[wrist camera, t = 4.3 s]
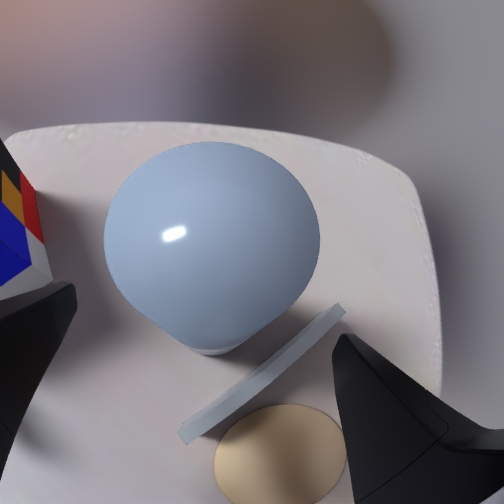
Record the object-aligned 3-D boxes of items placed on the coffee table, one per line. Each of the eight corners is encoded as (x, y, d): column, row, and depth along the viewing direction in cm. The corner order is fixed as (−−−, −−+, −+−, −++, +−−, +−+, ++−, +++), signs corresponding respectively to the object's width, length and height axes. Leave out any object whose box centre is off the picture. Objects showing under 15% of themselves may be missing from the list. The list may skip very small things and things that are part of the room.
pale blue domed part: (204, 371, 16) (187, 388, 5) (156, 307, 17) (74, 205, 6) (266, 322, 18) (359, 244, 7) (218, 263, 19) (232, 119, 8)
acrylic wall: (190, 432, 14) (186, 444, 12) (182, 423, 15) (176, 433, 12) (327, 321, 19) (346, 312, 16) (320, 312, 19) (337, 302, 16)
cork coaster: (272, 530, 12) (273, 532, 11) (185, 457, 14) (184, 458, 13) (365, 455, 15) (367, 456, 14) (291, 377, 17) (293, 377, 16)
